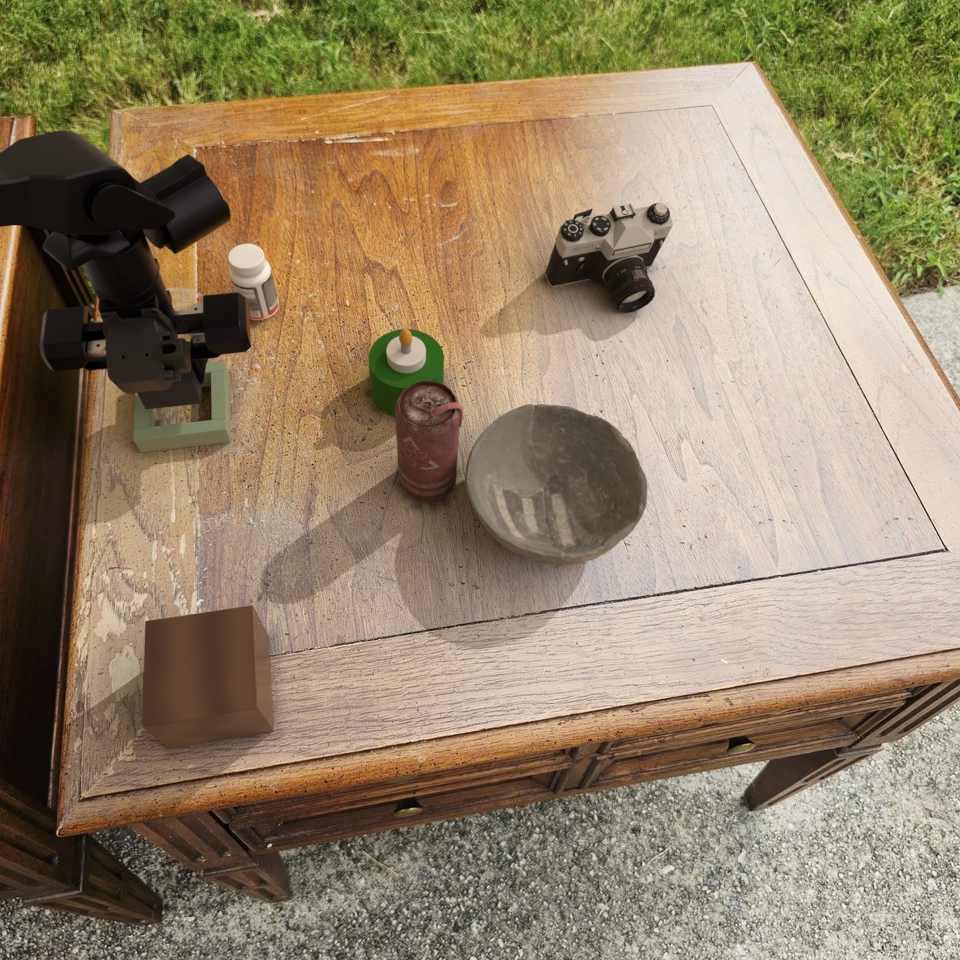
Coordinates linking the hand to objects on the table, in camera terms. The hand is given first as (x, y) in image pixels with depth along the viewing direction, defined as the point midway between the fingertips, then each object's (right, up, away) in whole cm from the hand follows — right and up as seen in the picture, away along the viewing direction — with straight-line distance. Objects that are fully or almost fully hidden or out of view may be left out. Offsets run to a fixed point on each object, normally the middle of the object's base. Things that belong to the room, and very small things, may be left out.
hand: (172, 383), depth 83 cm
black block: (0, 0, 0) cm, 0 cm away
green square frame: (0, -3, +4) cm, 5 cm away
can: (+27, -10, +2) cm, 29 cm away
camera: (+49, +14, +18) cm, 54 cm away
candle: (+24, 0, +8) cm, 25 cm away
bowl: (+39, -14, +1) cm, 42 cm away
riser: (+9, -29, -11) cm, 33 cm away
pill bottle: (+6, +11, +13) cm, 18 cm away
